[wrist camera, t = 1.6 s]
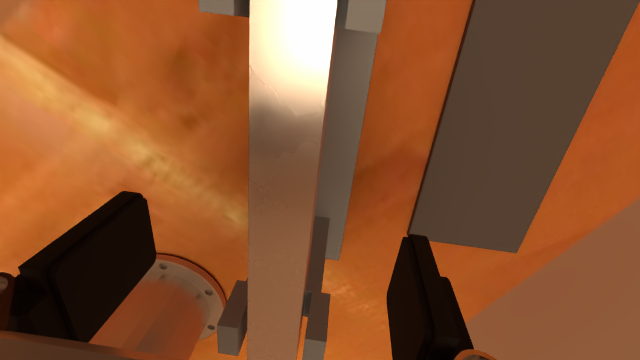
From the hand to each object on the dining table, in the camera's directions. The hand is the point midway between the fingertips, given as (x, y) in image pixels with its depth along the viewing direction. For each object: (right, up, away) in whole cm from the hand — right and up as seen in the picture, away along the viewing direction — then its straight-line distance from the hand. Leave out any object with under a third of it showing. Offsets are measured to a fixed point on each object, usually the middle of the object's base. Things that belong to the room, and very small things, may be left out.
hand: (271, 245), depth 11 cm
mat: (+16, +8, +13) cm, 22 cm away
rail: (0, +2, +6) cm, 6 cm away
